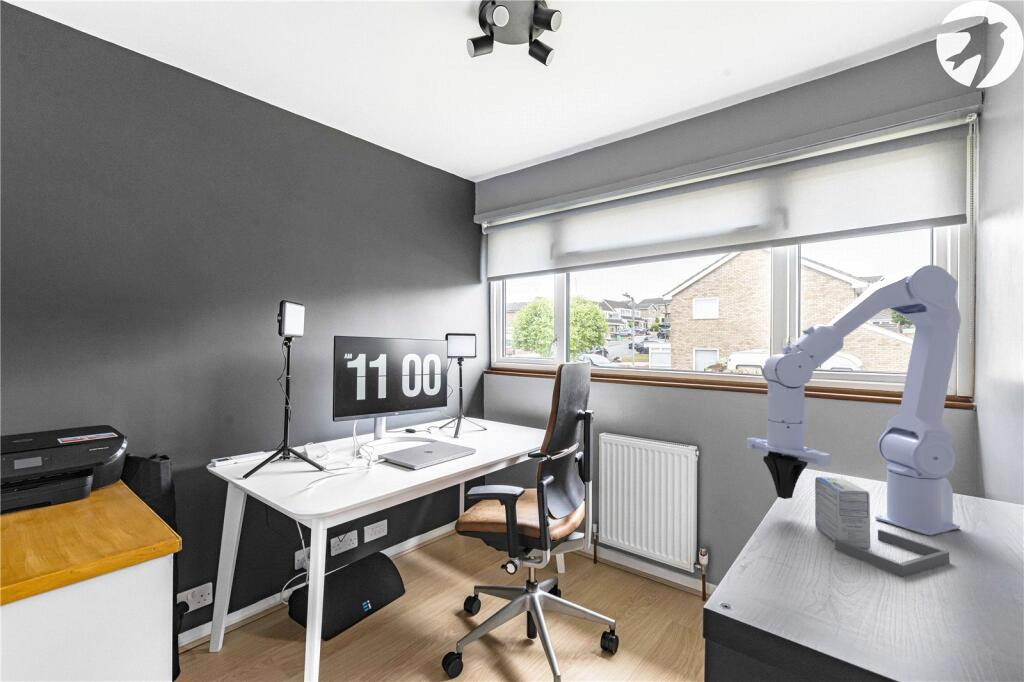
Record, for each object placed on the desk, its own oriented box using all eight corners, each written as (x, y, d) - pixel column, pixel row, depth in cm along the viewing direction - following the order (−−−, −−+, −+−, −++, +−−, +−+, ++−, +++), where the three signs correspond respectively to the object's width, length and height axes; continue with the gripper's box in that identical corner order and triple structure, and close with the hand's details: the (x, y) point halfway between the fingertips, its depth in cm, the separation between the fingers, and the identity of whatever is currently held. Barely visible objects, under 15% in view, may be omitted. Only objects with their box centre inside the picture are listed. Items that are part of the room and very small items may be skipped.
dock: (880, 538, 72) (880, 529, 72) (949, 562, 64) (949, 552, 64) (834, 549, 68) (834, 539, 68) (902, 577, 60) (902, 565, 60)
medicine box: (871, 550, 68) (871, 492, 68) (837, 547, 69) (838, 489, 69) (844, 529, 75) (844, 477, 76) (814, 527, 76) (814, 475, 76)
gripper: (735, 416, 86) (734, 487, 86) (810, 429, 73) (810, 514, 73) (761, 414, 89) (760, 483, 89) (839, 426, 76) (838, 508, 75)
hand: (784, 497), depth 81 cm, fingers closed
